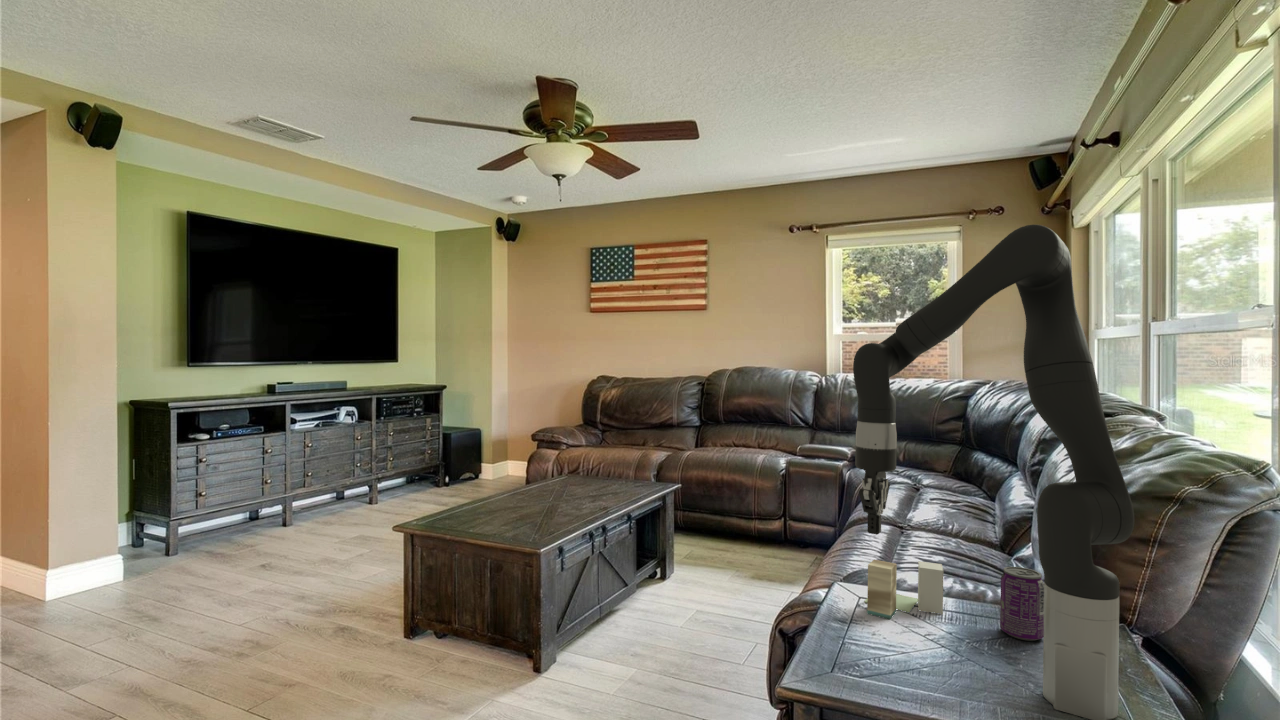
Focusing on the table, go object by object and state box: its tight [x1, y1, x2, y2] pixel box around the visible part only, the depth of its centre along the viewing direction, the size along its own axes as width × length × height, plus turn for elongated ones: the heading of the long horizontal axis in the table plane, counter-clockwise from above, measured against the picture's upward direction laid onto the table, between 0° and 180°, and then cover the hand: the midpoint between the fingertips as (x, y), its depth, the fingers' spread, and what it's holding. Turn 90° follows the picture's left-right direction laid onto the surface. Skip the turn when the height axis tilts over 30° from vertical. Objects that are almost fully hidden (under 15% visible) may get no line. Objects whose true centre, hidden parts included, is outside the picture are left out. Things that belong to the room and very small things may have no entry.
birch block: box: [866, 559, 898, 620], centre depth 125 cm, size 4×4×10 cm
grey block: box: [917, 560, 944, 615], centre depth 128 cm, size 4×4×9 cm
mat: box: [863, 593, 918, 613], centre depth 132 cm, size 9×9×1 cm
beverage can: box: [999, 566, 1044, 642], centre depth 116 cm, size 7×7×12 cm
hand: (874, 533), depth 120 cm, fingers closed
